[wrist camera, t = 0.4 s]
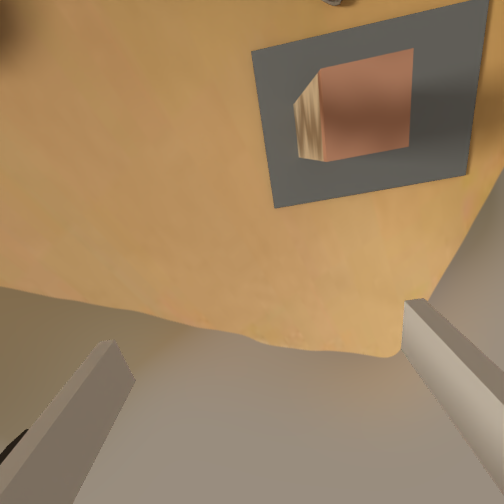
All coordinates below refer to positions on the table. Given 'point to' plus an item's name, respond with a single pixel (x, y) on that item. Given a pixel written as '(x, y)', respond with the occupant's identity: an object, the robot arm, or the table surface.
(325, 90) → the maple block
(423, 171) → the rubber mat
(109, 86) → the table surface
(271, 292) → the table surface
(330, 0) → the washcloth
